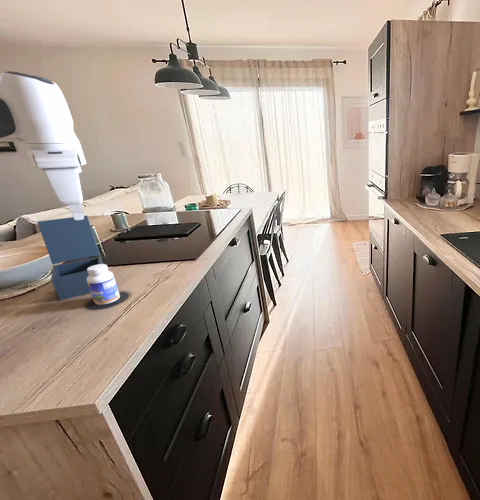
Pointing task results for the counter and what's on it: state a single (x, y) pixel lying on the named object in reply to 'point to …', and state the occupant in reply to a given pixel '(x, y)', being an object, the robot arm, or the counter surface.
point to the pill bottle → (102, 284)
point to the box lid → (68, 239)
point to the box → (72, 278)
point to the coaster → (94, 306)
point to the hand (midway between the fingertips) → (79, 218)
